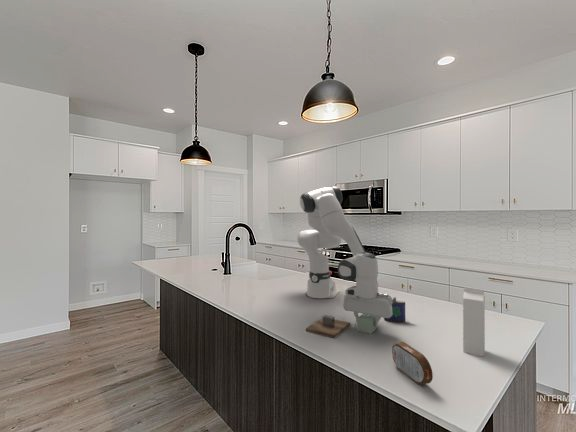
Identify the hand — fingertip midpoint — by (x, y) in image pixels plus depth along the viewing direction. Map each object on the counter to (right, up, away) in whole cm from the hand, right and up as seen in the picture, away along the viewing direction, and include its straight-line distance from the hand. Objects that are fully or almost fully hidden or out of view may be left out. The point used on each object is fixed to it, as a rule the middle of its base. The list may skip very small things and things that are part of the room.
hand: (367, 324), depth 125 cm
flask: (+15, -2, +9) cm, 18 cm away
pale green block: (0, -2, 0) cm, 2 cm away
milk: (+32, -2, -21) cm, 38 cm away
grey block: (-16, -2, +1) cm, 16 cm away
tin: (+3, -3, -36) cm, 36 cm away
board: (-16, -2, +1) cm, 16 cm away
